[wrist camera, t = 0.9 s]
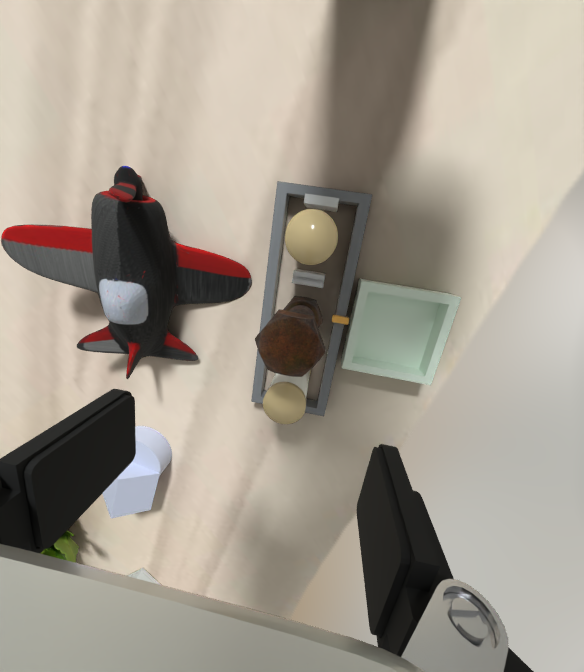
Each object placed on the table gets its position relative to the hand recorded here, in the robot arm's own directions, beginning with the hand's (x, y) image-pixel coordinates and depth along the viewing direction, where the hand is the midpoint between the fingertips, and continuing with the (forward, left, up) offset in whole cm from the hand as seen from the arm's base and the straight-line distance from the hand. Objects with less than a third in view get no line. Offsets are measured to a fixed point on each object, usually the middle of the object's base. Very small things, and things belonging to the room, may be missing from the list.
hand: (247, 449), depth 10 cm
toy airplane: (-1, -21, -27) cm, 34 cm away
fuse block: (0, 0, -27) cm, 27 cm away
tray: (+1, +12, -27) cm, 29 cm away
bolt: (0, 0, -27) cm, 27 cm away
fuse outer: (+9, 0, -27) cm, 28 cm away
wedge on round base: (+31, -23, -27) cm, 47 cm away
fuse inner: (-8, 0, -27) cm, 28 cm away
